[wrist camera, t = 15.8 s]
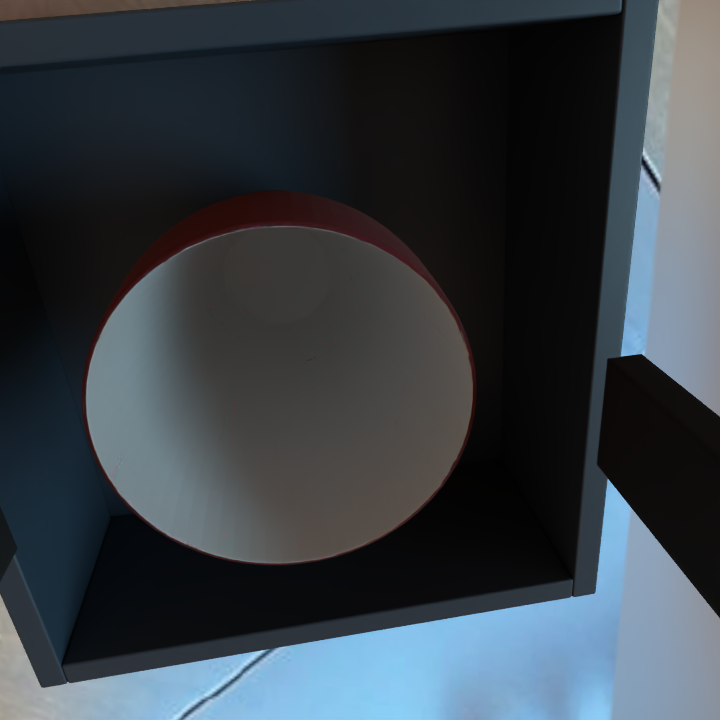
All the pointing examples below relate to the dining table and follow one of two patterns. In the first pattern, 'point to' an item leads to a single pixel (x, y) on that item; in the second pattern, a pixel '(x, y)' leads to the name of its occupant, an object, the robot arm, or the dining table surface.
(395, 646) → the dining table surface
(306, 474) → the mug
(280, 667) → the dining table surface
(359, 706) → the dining table surface
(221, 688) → the dining table surface
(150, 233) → the bin
